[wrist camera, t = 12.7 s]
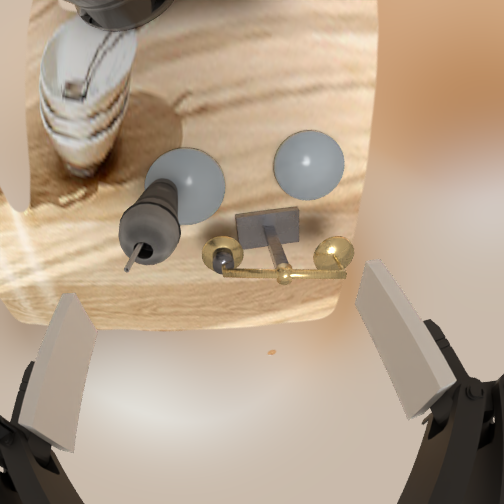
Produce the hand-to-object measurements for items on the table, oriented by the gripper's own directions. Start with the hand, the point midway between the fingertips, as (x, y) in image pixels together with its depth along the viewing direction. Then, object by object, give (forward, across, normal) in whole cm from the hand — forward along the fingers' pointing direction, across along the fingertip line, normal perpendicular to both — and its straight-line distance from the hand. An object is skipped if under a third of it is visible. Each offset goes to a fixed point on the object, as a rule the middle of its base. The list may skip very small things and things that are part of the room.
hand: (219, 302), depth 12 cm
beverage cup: (+30, -8, -7) cm, 32 cm away
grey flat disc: (+31, -5, -7) cm, 33 cm away
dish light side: (+32, +14, -5) cm, 35 cm away
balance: (+31, +7, -16) cm, 36 cm away
